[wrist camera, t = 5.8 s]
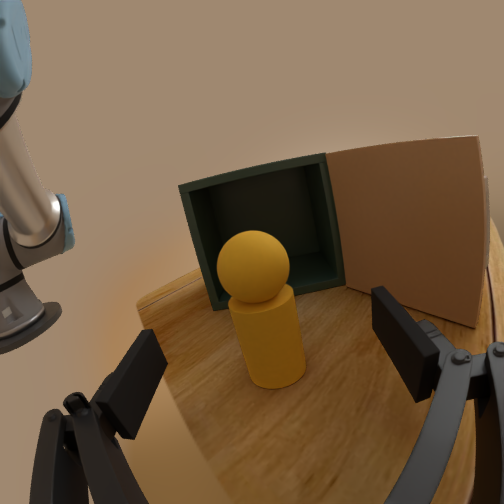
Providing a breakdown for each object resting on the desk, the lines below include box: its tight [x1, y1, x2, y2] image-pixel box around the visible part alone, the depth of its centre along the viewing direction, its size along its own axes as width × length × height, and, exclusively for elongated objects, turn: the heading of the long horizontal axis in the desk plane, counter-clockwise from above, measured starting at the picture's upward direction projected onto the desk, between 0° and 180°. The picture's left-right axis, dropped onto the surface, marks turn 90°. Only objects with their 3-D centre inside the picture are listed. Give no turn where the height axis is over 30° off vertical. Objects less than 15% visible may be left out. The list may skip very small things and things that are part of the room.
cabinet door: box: [325, 136, 490, 328], centre depth 23 cm, size 6×16×15 cm, turn 28°
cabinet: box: [178, 153, 346, 311], centre depth 36 cm, size 12×16×15 cm
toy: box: [217, 231, 306, 389], centre depth 19 cm, size 5×5×11 cm
